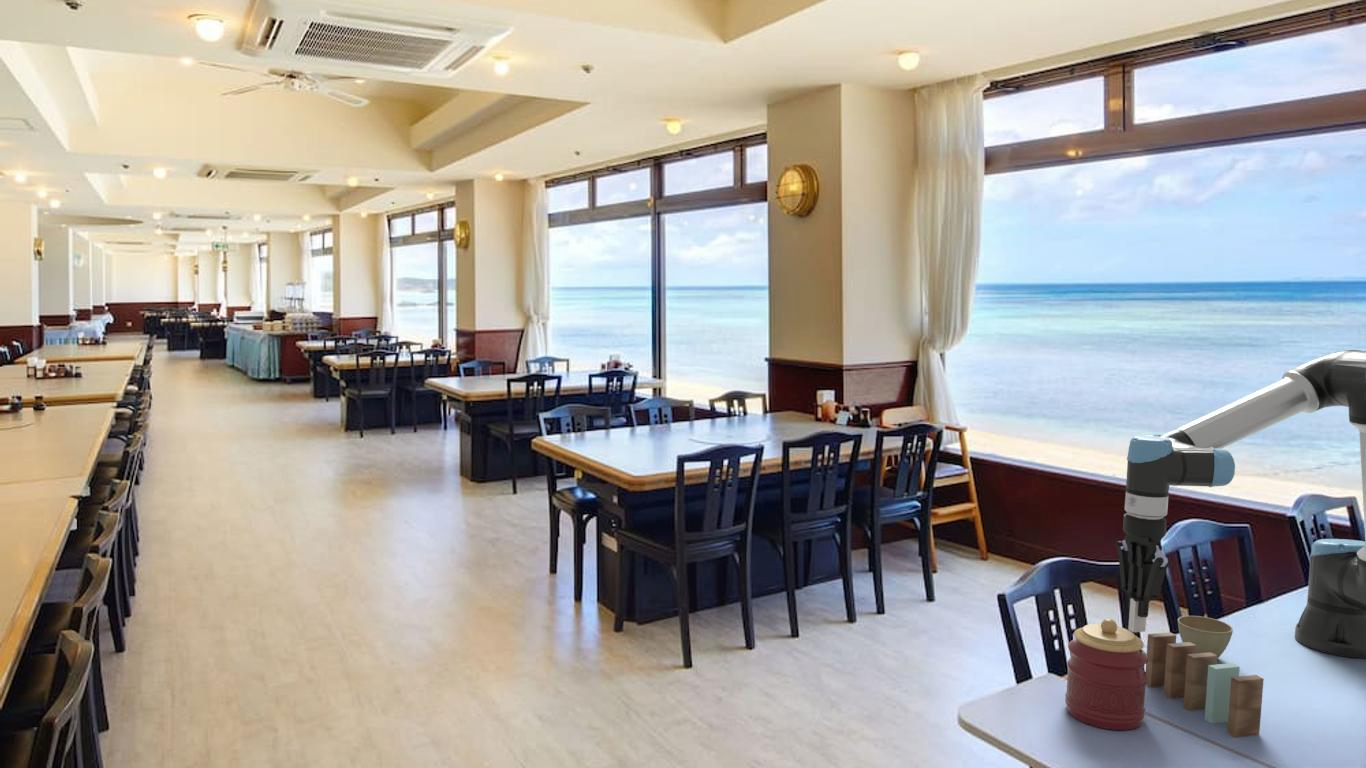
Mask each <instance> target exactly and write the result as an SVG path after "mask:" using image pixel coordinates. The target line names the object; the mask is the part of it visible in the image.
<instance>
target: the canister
mask: <svg viewBox="0 0 1366 768" xmlns="http://www.w3.org/2000/svg"><path fill="white" fill-rule="evenodd" d="M1073 637H1074V639H1072V640H1071V641H1069V642H1068V644H1067V648H1068V651H1069V652H1070V658H1069V659H1068V660H1067V663H1066V665H1067V679H1066V681H1067V683H1066V692H1065V698H1064V699H1065V700H1064V701H1065V705H1066V706H1065V707H1066V710H1067V712H1068V713H1069V715H1071V716H1072V717H1073V718H1075V719H1076V720H1078V721H1079V722H1082V723H1085V724H1087V725H1089V726H1093V727H1096V728H1100V729H1106V730H1112V731H1113V730H1114V731H1129V730H1134V729H1136V728H1139V727H1141V725H1142V724H1143V721H1144V719H1145V715H1146V713H1145V712H1146V708H1145V699H1146V698H1145V697H1146V686H1147V685H1146V679H1147V674H1146V670H1145V666H1146V663H1147V662H1148V655H1147V652H1145V651H1144V650H1143V648H1144V646H1145V644H1144V641H1143V640H1142V639H1141V638H1140V637H1138V636H1137V635H1135V634H1134V632H1132V631H1130V630H1128V629H1127V628H1126V627H1125V628H1124V627H1122V626H1118V625H1117V622H1116V621H1115V620H1114V619H1113V618H1112V619H1111V618H1105V619H1103V620H1102V621H1101V623H1089V624H1086V625H1084V626H1083V627H1080V628H1077V629H1076V630H1075V631H1074V632H1073Z"/></svg>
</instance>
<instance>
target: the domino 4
mask: <svg viewBox="0 0 1366 768" xmlns="http://www.w3.org/2000/svg"><path fill="white" fill-rule="evenodd" d="M1240 670H1241V669H1240V666H1239V665H1238V664H1235V663H1233V662H1232V663H1231V662H1230V663H1229V662H1228V663H1217V665H1208V678H1207V692H1206V706H1205V709H1204V720H1205V721H1207V722H1209V724H1220V723H1221V724H1222V723H1228V715H1229V701H1230V688H1231V677H1238V676H1240Z"/></svg>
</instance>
